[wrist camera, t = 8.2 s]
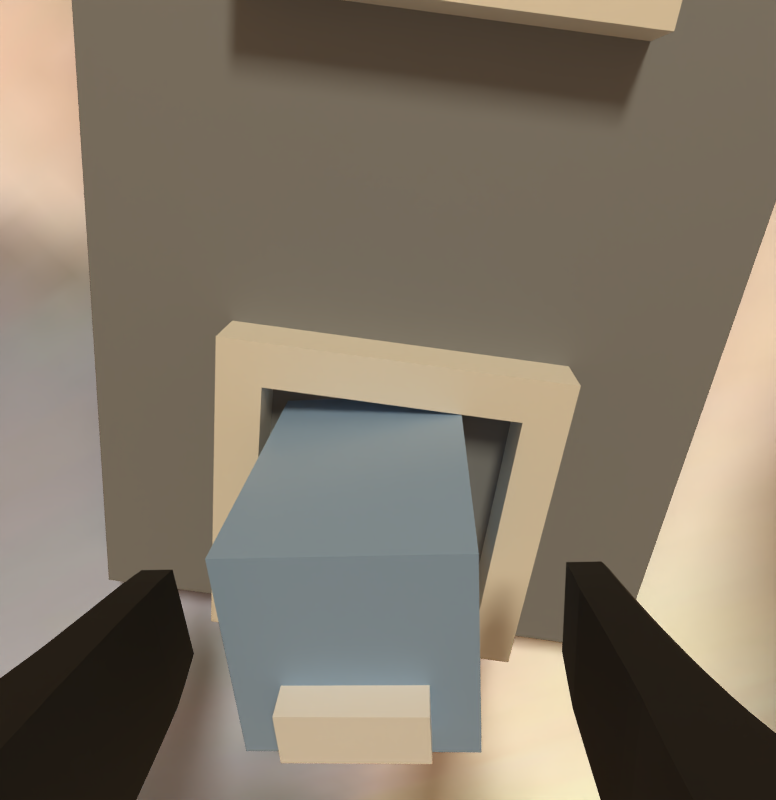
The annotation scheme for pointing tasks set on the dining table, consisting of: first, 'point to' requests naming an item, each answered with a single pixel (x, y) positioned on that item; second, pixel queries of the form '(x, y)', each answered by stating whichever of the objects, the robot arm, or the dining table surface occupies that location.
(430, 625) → the plug
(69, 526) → the dining table surface
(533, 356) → the panel
